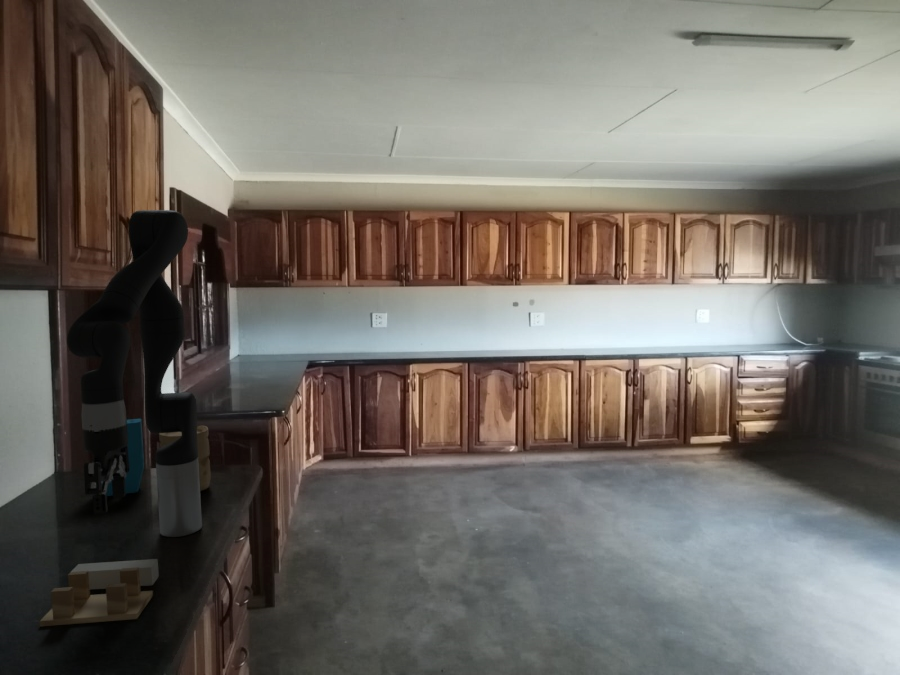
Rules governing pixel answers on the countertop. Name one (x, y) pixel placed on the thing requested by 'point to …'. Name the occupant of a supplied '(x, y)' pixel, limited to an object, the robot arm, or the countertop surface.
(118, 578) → the clay bar
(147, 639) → the countertop surface
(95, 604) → the rack
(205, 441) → the container
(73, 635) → the countertop surface
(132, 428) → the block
